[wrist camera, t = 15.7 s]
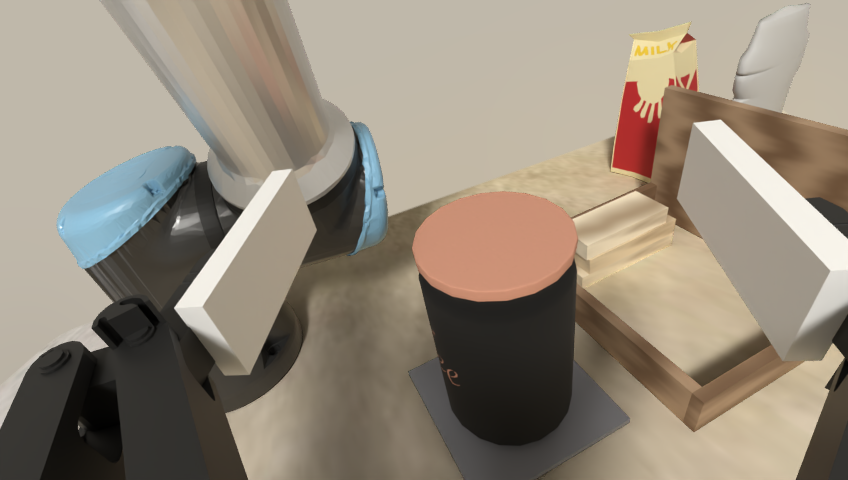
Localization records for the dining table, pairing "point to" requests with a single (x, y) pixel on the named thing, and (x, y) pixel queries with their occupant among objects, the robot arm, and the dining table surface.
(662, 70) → the milk carton
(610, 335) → the wooden hinged box
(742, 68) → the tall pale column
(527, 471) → the charcoal mat
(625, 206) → the offcut stack
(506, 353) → the coffee jar
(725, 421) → the dining table surface
